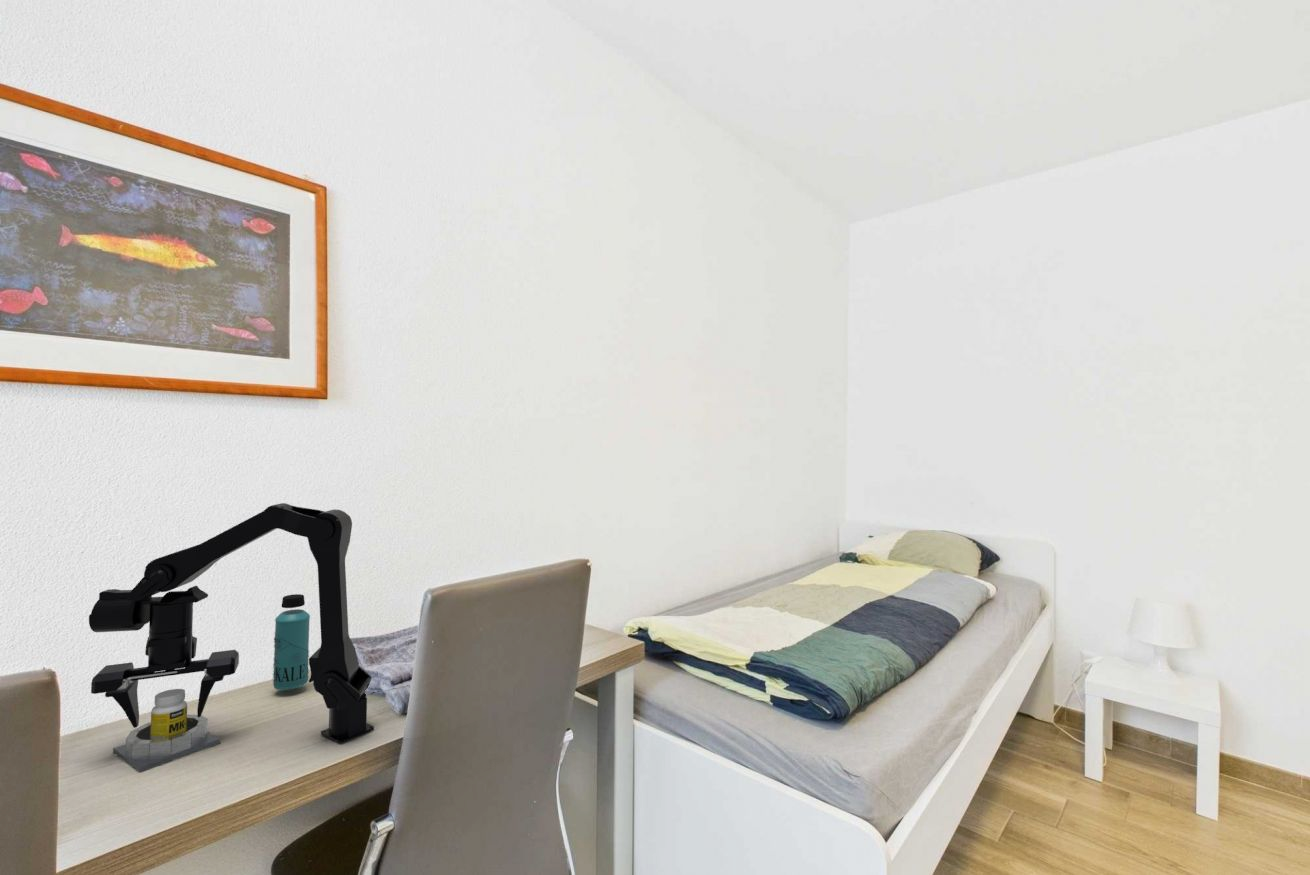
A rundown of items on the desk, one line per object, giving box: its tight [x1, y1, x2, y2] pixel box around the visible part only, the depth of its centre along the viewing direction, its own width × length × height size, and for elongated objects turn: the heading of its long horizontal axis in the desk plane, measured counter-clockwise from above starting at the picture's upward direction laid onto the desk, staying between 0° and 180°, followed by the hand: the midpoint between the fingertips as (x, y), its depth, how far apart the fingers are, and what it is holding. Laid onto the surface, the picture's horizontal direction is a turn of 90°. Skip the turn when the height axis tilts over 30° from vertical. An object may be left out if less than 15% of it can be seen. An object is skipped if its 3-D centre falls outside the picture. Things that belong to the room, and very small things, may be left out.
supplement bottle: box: [150, 688, 188, 740], centre depth 100 cm, size 5×5×8 cm
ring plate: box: [112, 714, 221, 773], centre depth 100 cm, size 11×11×3 cm
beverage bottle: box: [272, 593, 311, 691], centre depth 124 cm, size 6×7×20 cm
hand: (168, 721), depth 100 cm, fingers open, 8 cm apart
